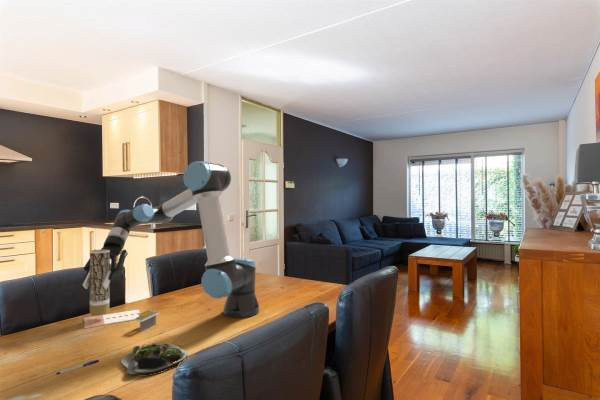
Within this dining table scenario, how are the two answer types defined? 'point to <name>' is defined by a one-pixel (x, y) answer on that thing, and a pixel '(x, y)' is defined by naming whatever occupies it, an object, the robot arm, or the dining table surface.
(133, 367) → the salad plate
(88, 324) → the ticket board
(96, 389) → the dining table surface
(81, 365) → the ballpoint pen
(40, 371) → the dining table surface
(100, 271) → the bark-patterned cylinder
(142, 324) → the platform
